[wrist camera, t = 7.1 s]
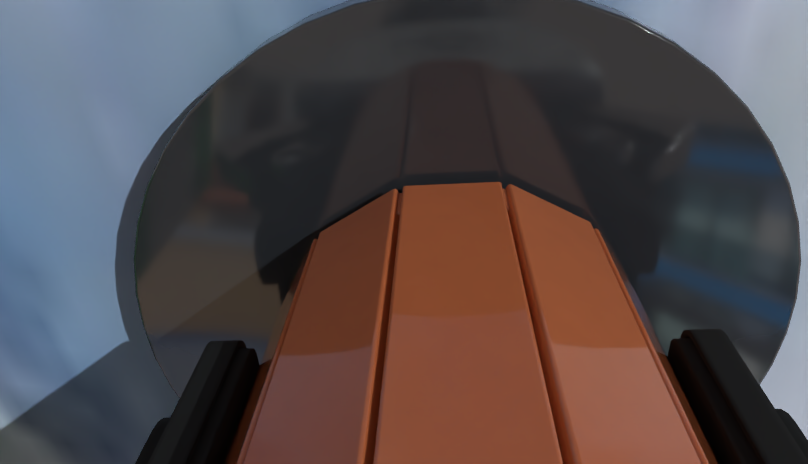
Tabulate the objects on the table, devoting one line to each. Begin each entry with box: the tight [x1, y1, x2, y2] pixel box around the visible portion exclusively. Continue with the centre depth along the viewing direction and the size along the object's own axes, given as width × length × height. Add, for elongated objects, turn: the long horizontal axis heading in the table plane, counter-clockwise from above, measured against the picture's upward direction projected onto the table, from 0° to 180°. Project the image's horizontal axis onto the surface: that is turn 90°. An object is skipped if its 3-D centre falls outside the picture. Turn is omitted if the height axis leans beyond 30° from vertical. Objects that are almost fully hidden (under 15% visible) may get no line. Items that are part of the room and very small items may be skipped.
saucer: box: [134, 0, 801, 398], centre depth 13 cm, size 13×13×1 cm
